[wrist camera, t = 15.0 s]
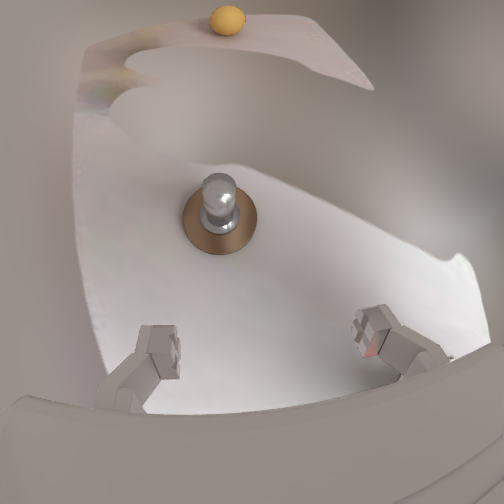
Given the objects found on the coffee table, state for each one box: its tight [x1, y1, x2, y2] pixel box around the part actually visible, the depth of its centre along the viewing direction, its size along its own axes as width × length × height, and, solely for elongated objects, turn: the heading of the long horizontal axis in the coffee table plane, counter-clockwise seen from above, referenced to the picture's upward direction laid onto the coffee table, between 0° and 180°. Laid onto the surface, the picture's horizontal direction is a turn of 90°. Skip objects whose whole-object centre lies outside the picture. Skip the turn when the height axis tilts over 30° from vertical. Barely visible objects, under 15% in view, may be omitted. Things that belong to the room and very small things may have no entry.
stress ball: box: [210, 5, 246, 36], centre depth 56 cm, size 10×10×10 cm
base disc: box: [183, 187, 257, 255], centre depth 45 cm, size 12×12×2 cm
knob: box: [200, 173, 240, 235], centre depth 40 cm, size 6×6×10 cm
